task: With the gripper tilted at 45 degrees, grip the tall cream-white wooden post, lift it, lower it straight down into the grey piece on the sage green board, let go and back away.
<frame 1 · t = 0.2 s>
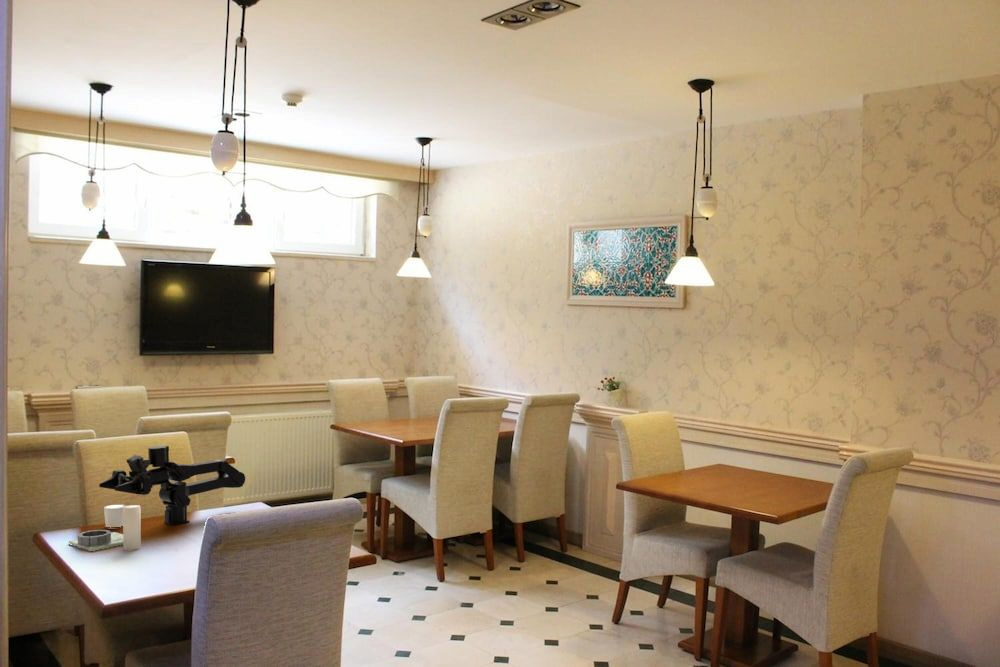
hand: (107, 487, 278), 17 cm above the table, tool horizontal, fingers open, 9 cm apart
grey piece: (94, 544, 271), on the table
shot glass: (114, 526, 294), on the table
post: (132, 548, 266), on the table
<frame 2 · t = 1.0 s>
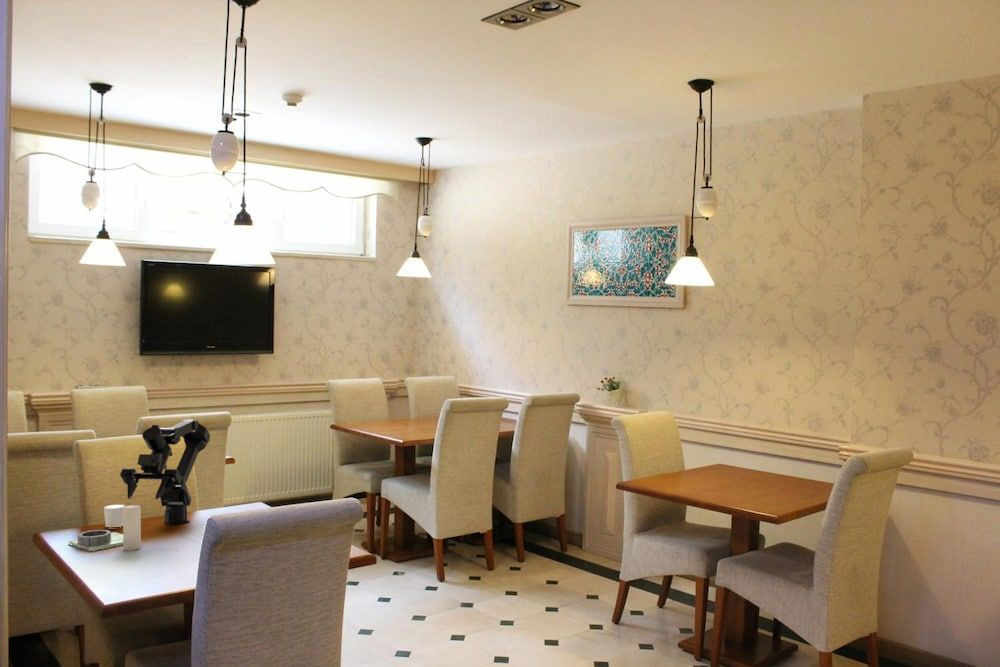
hand: (142, 498, 274), 14 cm above the table, tool tilted 45°, fingers open, 9 cm apart
nothing on the table moved.
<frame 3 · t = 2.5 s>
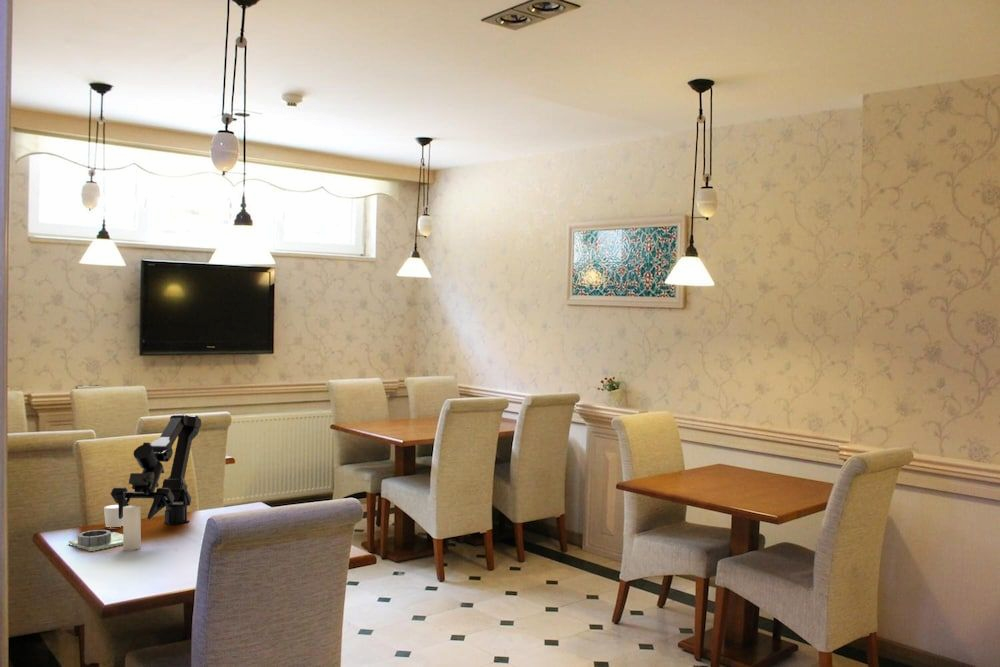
hand: (134, 518, 268), 9 cm above the table, tool tilted 45°, fingers open, 9 cm apart
nothing on the table moved.
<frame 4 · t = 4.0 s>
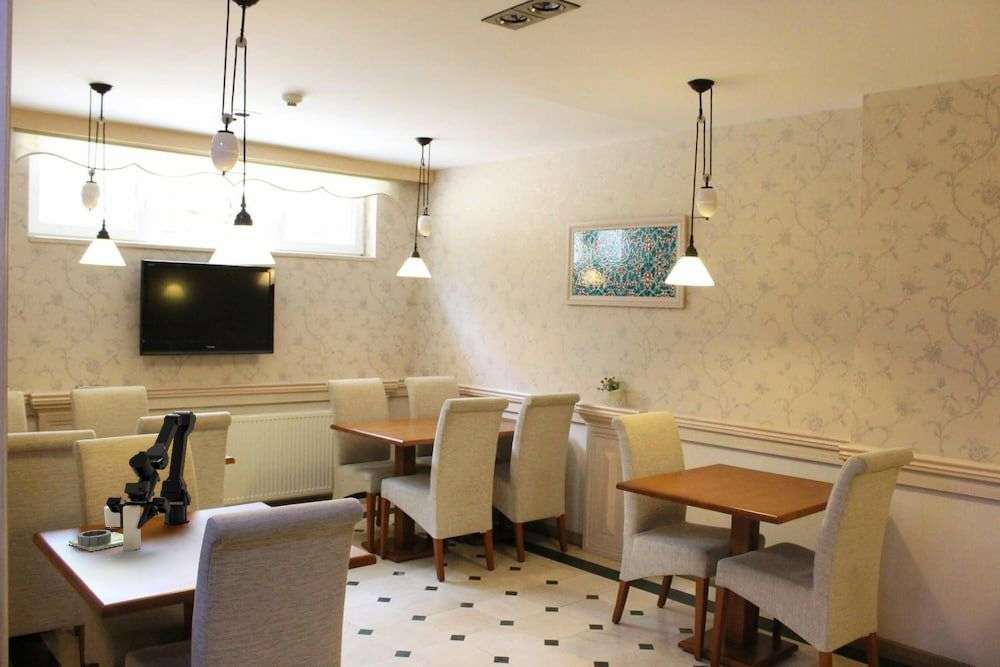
hand: (129, 528, 265), 7 cm above the table, tool tilted 45°, fingers closed on post, 5 cm apart
post: (132, 548, 266), on the table, touching gripper
everything else where it was.
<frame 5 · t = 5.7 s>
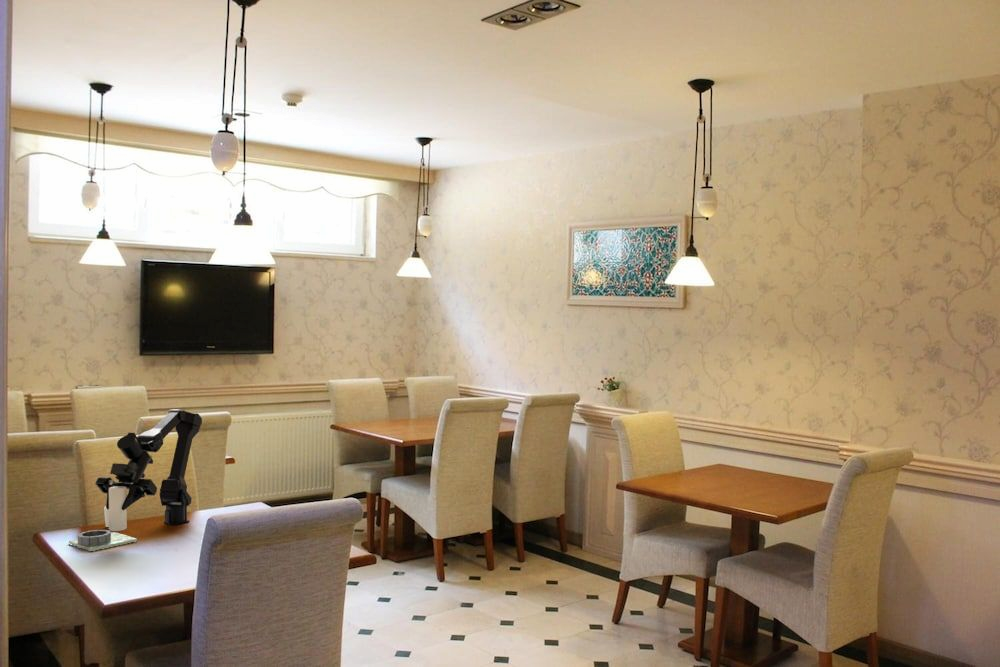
hand: (114, 509, 265), 12 cm above the table, tool tilted 45°, fingers closed on post, 5 cm apart
post: (117, 528, 267), point 6 cm above the table, touching gripper
everything else where it was.
when the fingers open (9 cm above the table, at t = 7.7 s): post drops 1 cm, resting on grey piece.
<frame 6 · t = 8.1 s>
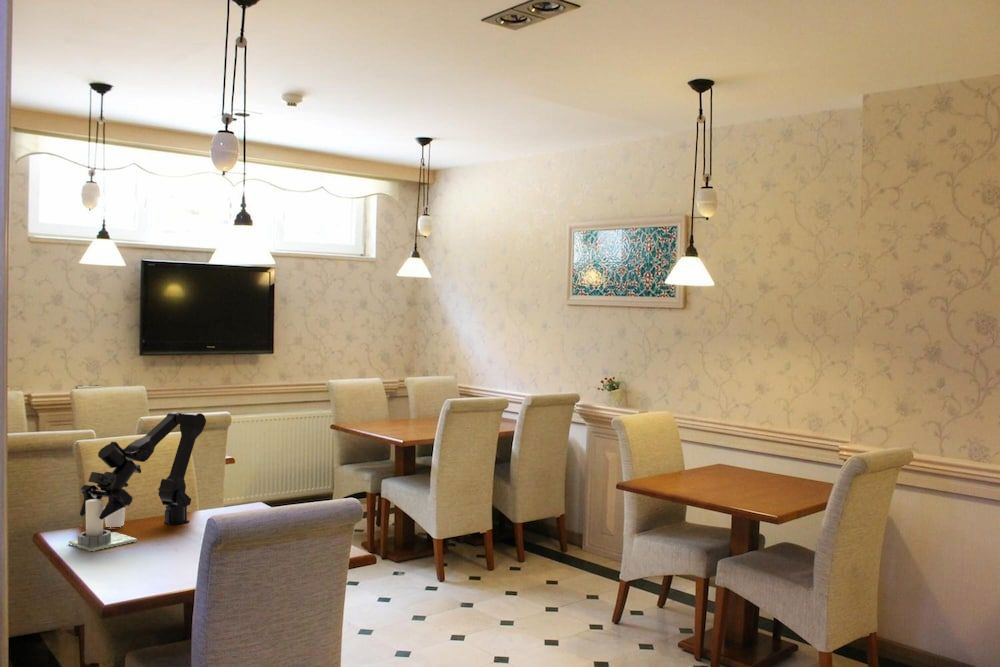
hand: (90, 517, 269), 9 cm above the table, tool tilted 45°, fingers open, 9 cm apart
post: (94, 541, 271), point 1 cm above the table, touching grey piece
everything else where it was.
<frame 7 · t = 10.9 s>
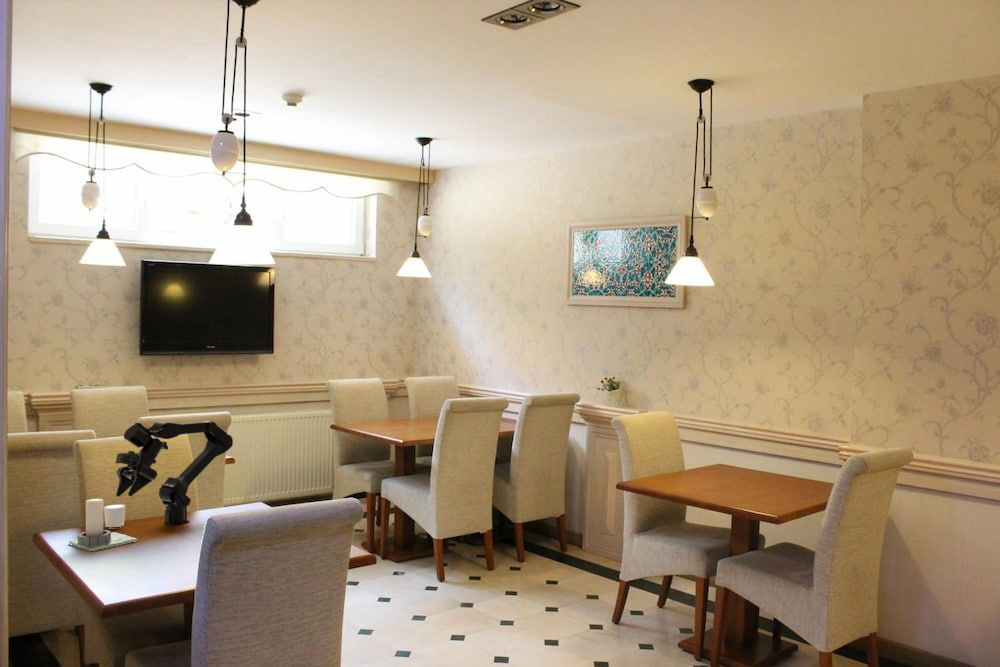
hand: (123, 495, 282), 13 cm above the table, tool tilted 40°, fingers open, 9 cm apart
nothing on the table moved.
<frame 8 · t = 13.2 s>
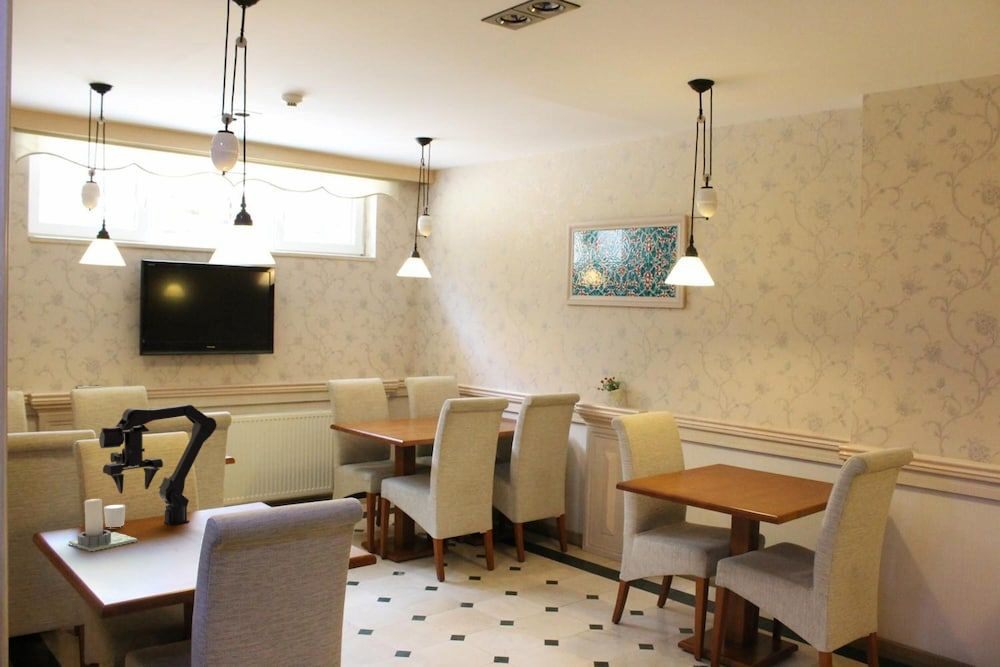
hand: (133, 491, 290), 13 cm above the table, tool pointing down, fingers open, 9 cm apart
nothing on the table moved.
at the end: post 0.0 cm off-centre on the grey piece, point 1.1 cm above the grey piece's base; post tilted 1°; the gripper is holding nothing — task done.
